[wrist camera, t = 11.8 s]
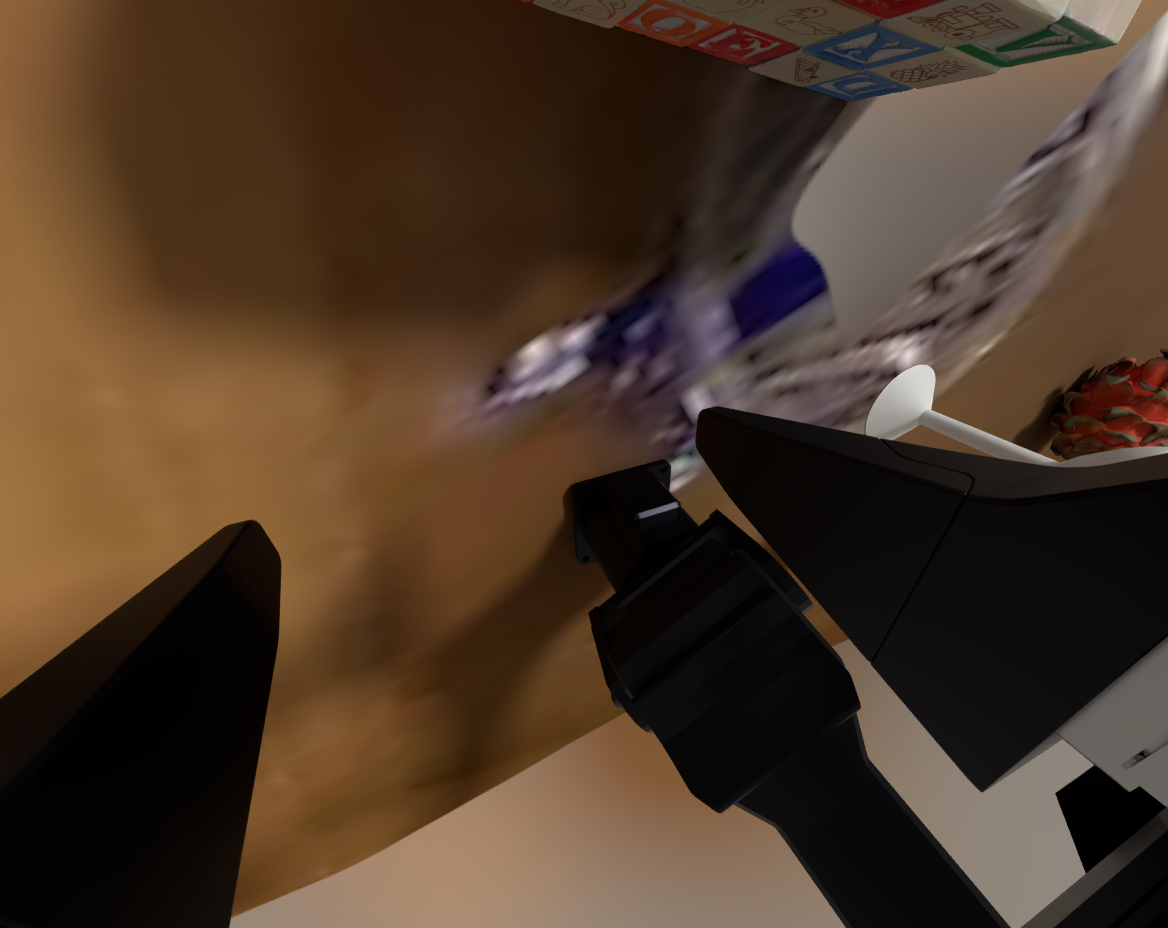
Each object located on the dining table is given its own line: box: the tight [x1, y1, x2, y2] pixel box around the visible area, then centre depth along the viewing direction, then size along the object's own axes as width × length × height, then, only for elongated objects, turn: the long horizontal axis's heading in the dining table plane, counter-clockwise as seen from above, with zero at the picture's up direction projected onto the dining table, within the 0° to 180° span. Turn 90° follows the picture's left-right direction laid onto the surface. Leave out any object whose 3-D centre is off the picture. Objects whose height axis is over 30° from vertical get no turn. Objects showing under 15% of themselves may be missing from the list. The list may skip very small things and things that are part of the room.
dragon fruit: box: [1050, 349, 1168, 460], centre depth 40 cm, size 8×8×12 cm
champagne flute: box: [865, 365, 1168, 467], centre depth 24 cm, size 7×7×24 cm
